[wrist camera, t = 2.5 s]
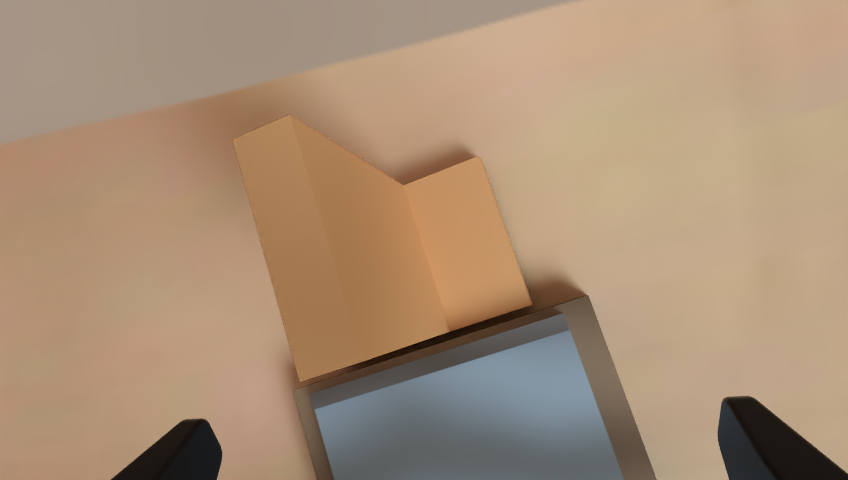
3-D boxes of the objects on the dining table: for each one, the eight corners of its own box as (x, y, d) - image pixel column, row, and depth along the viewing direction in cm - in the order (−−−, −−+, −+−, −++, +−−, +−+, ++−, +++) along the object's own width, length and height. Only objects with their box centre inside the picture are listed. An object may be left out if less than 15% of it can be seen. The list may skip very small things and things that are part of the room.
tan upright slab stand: (532, 304, 21) (501, 316, 12) (344, 365, 23) (181, 420, 13) (481, 159, 22) (413, 60, 13) (304, 227, 24) (125, 186, 14)
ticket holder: (678, 541, 20) (690, 567, 18) (369, 610, 22) (350, 639, 20) (587, 295, 21) (588, 295, 19) (306, 386, 24) (284, 393, 22)
